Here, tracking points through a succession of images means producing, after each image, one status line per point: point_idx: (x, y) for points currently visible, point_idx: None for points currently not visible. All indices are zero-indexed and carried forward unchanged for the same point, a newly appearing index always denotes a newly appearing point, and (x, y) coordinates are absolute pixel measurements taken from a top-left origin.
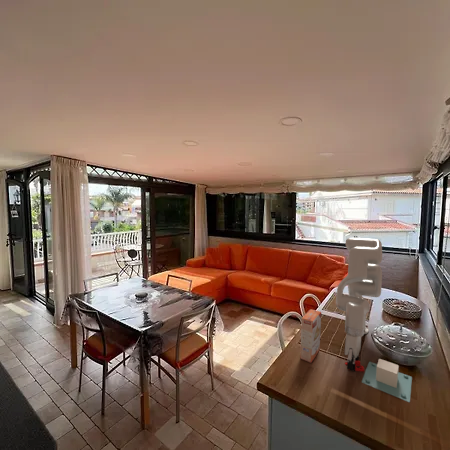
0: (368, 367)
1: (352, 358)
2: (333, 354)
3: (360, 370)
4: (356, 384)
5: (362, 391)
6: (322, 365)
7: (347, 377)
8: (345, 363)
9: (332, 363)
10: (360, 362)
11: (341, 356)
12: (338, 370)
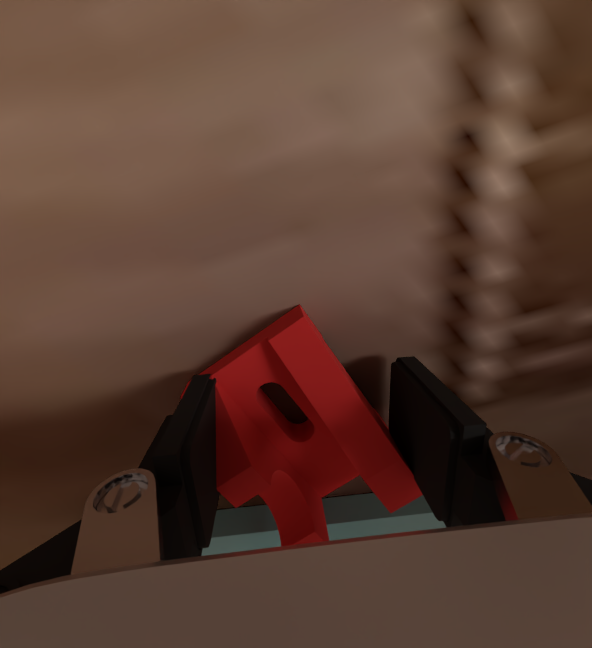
0: (406, 525)
1: (421, 412)
2: (484, 61)
3: (270, 501)
4: (53, 495)
5: (4, 553)
6: (6, 10)
7: (81, 402)
8: (285, 330)
9: (213, 144)
10: (390, 509)
11: (496, 194)
12: (119, 277)
